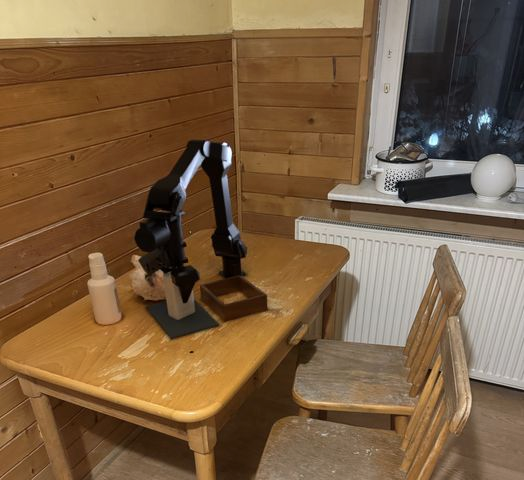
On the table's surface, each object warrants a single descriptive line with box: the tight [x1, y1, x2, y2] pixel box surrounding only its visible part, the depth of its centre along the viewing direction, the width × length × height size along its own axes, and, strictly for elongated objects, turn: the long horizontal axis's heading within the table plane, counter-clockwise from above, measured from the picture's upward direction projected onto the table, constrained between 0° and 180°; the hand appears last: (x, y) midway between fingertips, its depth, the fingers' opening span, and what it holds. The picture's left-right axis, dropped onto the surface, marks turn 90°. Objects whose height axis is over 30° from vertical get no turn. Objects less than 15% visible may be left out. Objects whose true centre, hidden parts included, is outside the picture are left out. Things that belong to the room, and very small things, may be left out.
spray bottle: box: [86, 252, 123, 326], centre depth 130 cm, size 7×7×18 cm
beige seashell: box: [128, 254, 166, 303], centre depth 148 cm, size 18×14×8 cm
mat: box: [145, 299, 220, 340], centre depth 135 cm, size 20×13×1 cm, turn 29°
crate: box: [199, 275, 269, 323], centre depth 139 cm, size 16×13×4 cm
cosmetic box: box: [163, 272, 195, 320], centre depth 131 cm, size 6×4×12 cm
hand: (178, 296), depth 131 cm, fingers open, 9 cm apart
